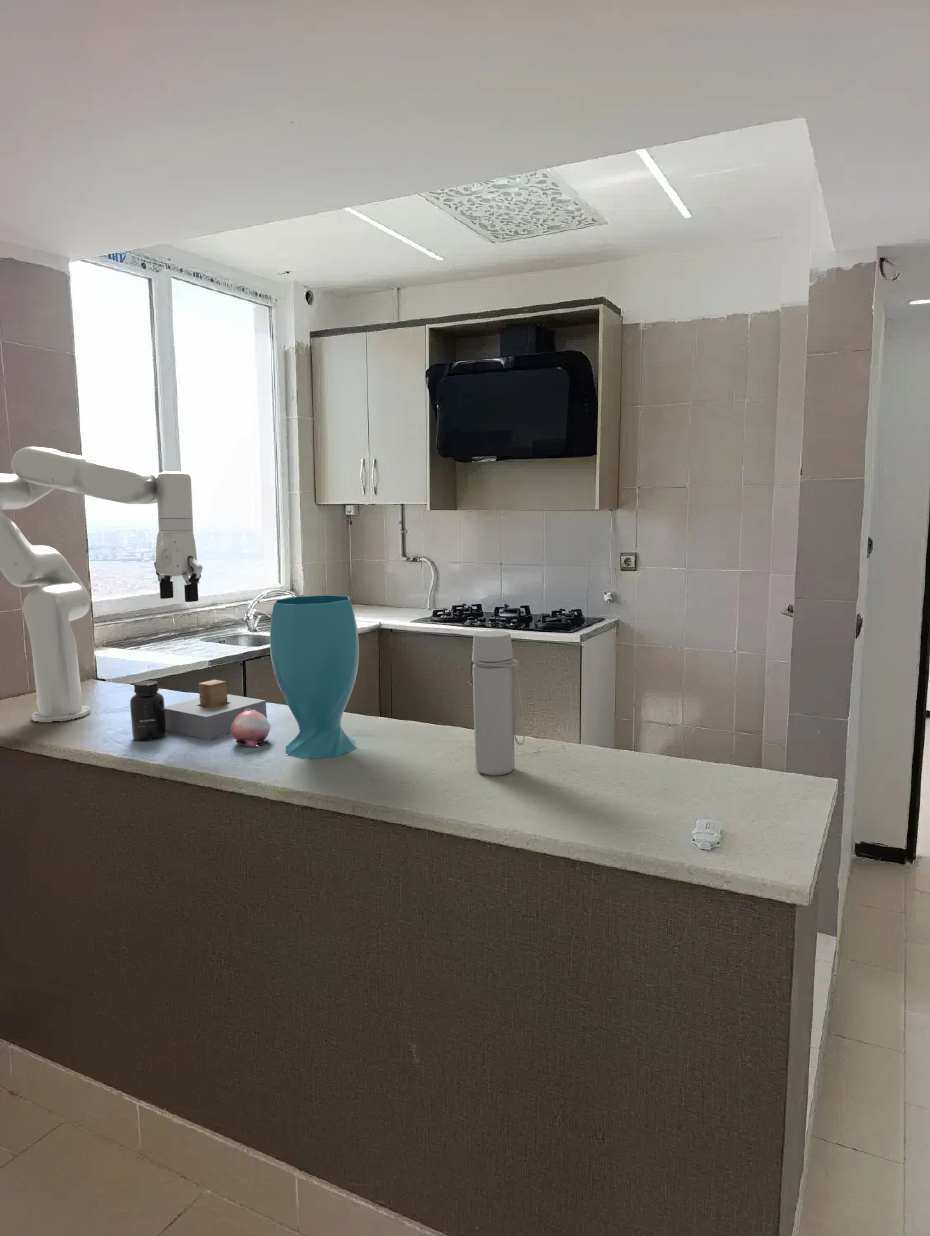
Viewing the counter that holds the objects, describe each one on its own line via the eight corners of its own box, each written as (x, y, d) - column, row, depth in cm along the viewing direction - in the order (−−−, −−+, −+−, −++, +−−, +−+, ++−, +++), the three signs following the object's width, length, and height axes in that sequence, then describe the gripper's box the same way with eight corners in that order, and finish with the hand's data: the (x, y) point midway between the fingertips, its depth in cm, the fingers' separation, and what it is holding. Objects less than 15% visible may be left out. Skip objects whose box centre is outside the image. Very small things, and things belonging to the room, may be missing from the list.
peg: (202, 726, 180) (198, 683, 179) (217, 722, 184) (214, 679, 182) (213, 729, 178) (210, 685, 177) (229, 725, 181) (226, 681, 180)
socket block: (162, 729, 179) (160, 707, 178) (221, 713, 192) (219, 692, 191) (208, 739, 170) (207, 716, 169) (267, 721, 183) (265, 700, 182)
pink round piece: (257, 740, 172) (267, 708, 171) (271, 752, 165) (280, 719, 165) (221, 735, 167) (231, 702, 167) (234, 748, 161) (244, 713, 160)
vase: (381, 742, 164) (374, 596, 160) (321, 766, 150) (312, 607, 146) (320, 731, 174) (312, 593, 170) (258, 752, 160) (248, 603, 156)
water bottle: (472, 777, 142) (467, 637, 138) (477, 763, 149) (473, 630, 146) (524, 778, 140) (521, 637, 137) (527, 764, 148) (524, 630, 145)
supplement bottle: (144, 743, 169) (139, 687, 167) (126, 738, 173) (121, 684, 171) (173, 735, 174) (168, 681, 172) (155, 731, 178) (151, 678, 176)
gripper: (139, 525, 187) (143, 598, 190) (184, 527, 177) (187, 604, 180) (168, 525, 193) (171, 595, 196) (212, 526, 183) (215, 601, 186)
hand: (179, 599), depth 188 cm, fingers open, 9 cm apart
